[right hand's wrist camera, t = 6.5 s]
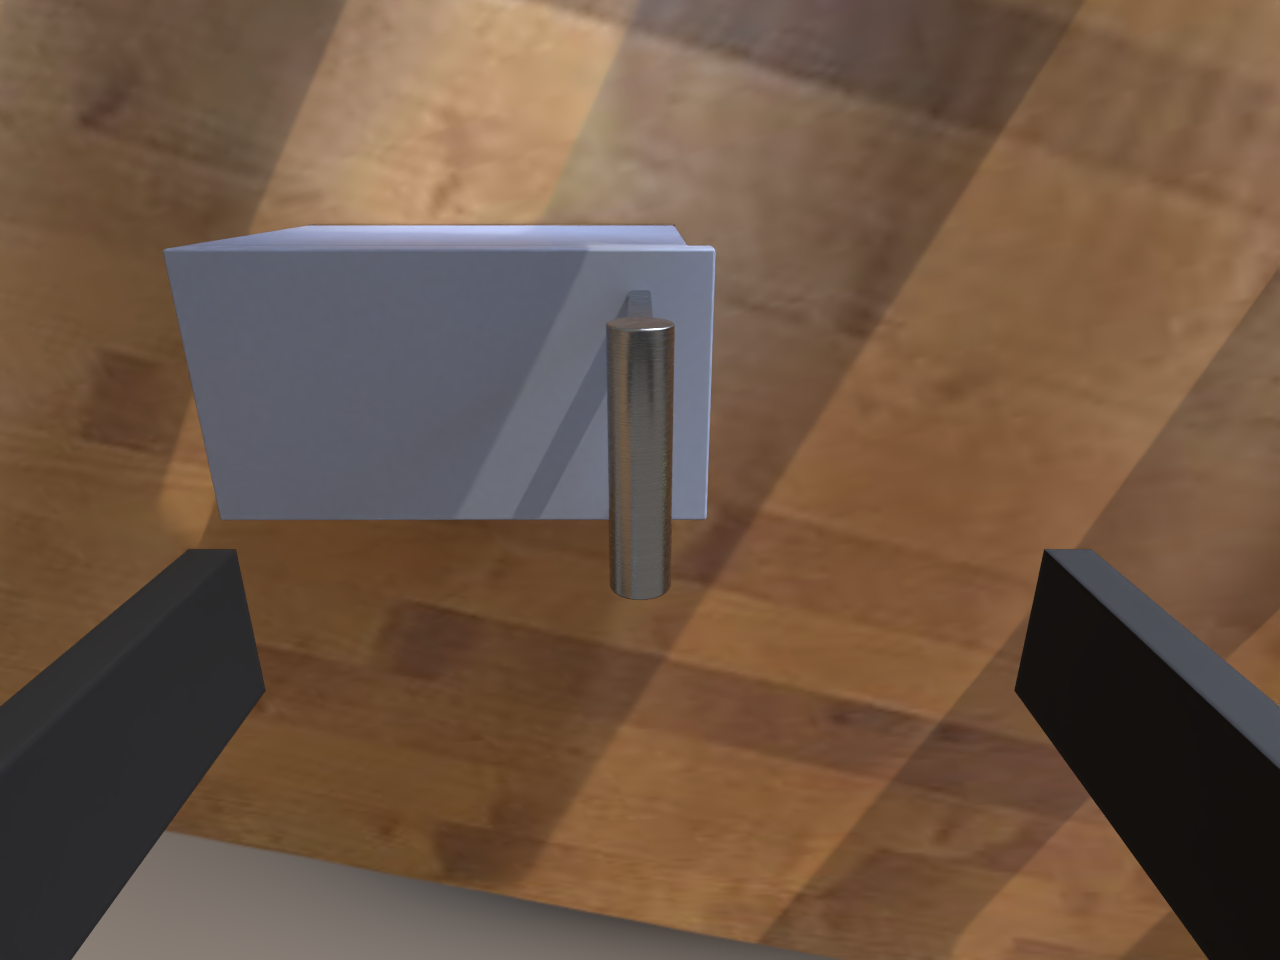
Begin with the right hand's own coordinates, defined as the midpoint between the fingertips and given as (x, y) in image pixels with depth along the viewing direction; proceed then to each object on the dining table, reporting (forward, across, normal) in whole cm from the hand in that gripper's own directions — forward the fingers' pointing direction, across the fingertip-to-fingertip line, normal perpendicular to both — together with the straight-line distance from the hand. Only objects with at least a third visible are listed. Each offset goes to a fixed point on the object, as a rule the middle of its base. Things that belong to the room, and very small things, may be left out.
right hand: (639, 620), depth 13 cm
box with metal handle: (+15, -6, 0) cm, 17 cm away
